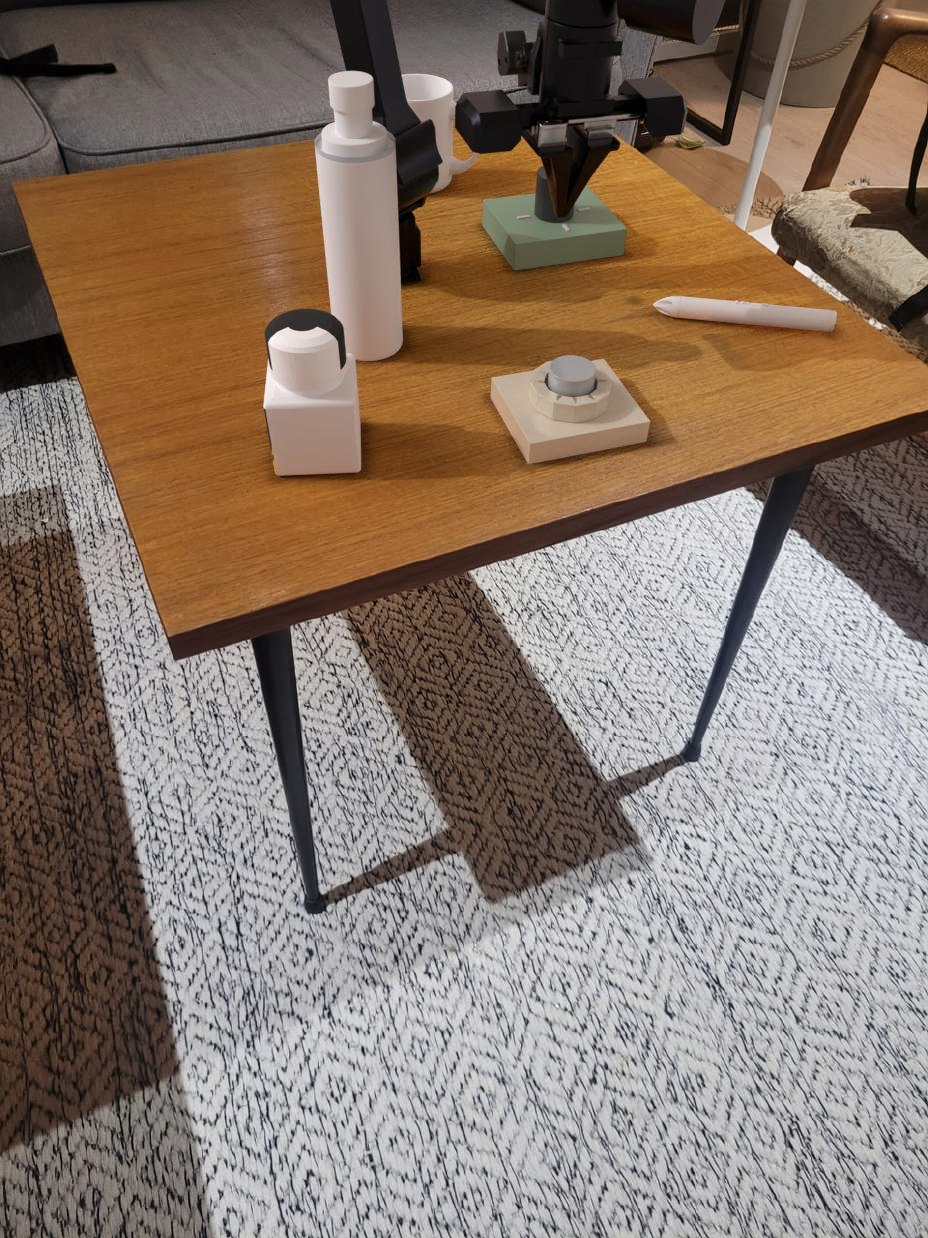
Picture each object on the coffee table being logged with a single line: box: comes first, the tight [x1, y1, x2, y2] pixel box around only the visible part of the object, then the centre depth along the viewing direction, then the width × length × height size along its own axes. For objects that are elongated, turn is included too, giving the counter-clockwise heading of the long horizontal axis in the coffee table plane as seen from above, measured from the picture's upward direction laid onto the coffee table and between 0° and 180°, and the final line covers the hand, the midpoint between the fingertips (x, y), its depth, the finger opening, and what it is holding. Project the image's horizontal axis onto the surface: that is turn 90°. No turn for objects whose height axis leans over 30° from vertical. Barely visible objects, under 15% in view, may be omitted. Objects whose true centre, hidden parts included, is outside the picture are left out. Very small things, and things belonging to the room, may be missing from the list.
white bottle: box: [314, 70, 404, 362], centre depth 80 cm, size 7×7×25 cm
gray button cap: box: [548, 354, 596, 397], centre depth 79 cm, size 4×4×2 cm
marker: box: [652, 295, 838, 333], centre depth 92 cm, size 18×2×2 cm, turn 81°
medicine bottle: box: [262, 308, 362, 477], centre depth 74 cm, size 7×7×12 cm
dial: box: [534, 165, 575, 222], centre depth 100 cm, size 4×4×5 cm
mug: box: [401, 73, 479, 195], centre depth 110 cm, size 9×12×11 cm
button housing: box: [490, 358, 651, 465], centre depth 80 cm, size 11×10×4 cm
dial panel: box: [481, 186, 628, 271], centre depth 103 cm, size 13×11×3 cm
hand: (560, 215), depth 83 cm, fingers closed
